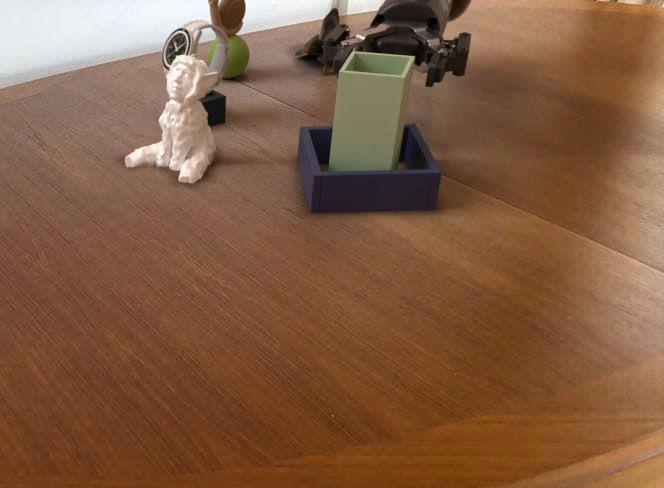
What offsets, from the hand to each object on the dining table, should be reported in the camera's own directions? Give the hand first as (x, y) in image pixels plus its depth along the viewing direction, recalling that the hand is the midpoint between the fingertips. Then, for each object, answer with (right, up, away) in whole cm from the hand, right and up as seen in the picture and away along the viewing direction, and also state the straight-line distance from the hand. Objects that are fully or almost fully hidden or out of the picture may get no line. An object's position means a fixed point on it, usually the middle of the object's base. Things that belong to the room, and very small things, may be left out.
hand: (384, 73), depth 86 cm
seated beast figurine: (-19, -7, +9) cm, 23 cm away
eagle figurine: (+1, +13, +33) cm, 35 cm away
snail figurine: (-12, +11, +30) cm, 34 cm away
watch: (-17, +2, +20) cm, 26 cm away
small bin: (-2, -11, +2) cm, 11 cm away
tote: (-2, -11, +3) cm, 12 cm away
